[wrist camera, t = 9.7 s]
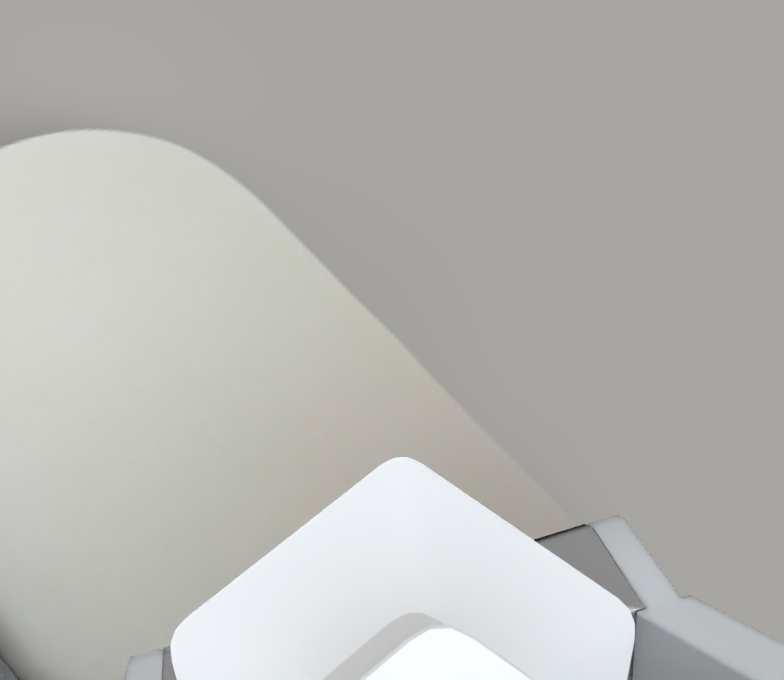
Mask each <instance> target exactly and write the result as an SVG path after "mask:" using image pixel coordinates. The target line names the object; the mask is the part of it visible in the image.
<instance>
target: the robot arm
mask: <svg viewBox="0 0 784 680" xmlns="http://www.w3.org/2000/svg"><path fill="white" fill-rule="evenodd" d="M534 541H536V542H537V543H538V544H540V545H541V546H543V547H544V548H546V549H547V550H549V551H550V552H552V553H553V554H555V555H556V556H557V557H559V558H560V559H562V560H563V561H565V562H566V563H568V564H569V565H571V566H572V567H574V568H575V569H576V570H578V571H579V572H581V573H582V574H584V575H585V576H587V577H588V578H590V579H591V580H592V581H594V582H595V583H597V584H598V585H600V586H601V587H603V588H604V589H606V590H607V591H609V592H610V593H611V594H613V595H614V596H616V597H617V598H618V599H619V600H620V601H622V602H623V603H624V604H625V605H626V606H627V607H628V608H629V610H630V612H631V614H632V617H633V619H634V622H635V640H634V646H633V651H632V657H631V662H630V667H629V673H628V678H627V680H784V644H783V643H781V642H779V641H777V640H775V639H773V638H771V637H769V636H767V635H766V634H764V633H762V632H760V631H758V630H756V629H754V628H752V627H750V626H748V625H746V624H744V623H743V622H741V621H739V620H737V619H735V618H733V617H731V616H729V615H727V614H725V613H723V612H721V611H719V610H717V609H716V608H714V607H712V606H710V605H708V604H706V603H704V602H702V601H700V600H698V599H696V598H694V597H692V596H687V597H683V598H681V597H680V596H679V594H678V593H677V592H676V590H675V589H674V587H673V586H672V585H671V583H670V582H669V581H668V579H667V578H666V576H665V575H664V573H663V572H662V571H661V569H660V568H659V567H658V565H657V564H656V562H655V561H654V560H653V558H652V557H651V555H650V554H649V553H648V552H647V550H646V548H645V547H644V546H643V544H642V543H641V542H640V541H639V539H638V537H637V536H636V535H635V533H634V532H633V530H632V529H631V528H630V526H629V525H628V523H627V522H626V521H625V519H623V518H622V517H620V516H618V515H617V516H613V517H610V518H607V519H603V520H600V521H597V522H593V523H590V524H587V525H585V524H584V525H580V526H577V527H574V528H571V529H567V530H564V531H561V532H558V533H554V534H551V535H548V536H545V537H541V538H538V539H535V540H534ZM125 680H177V679H176V675H175V671H174V668H173V664H172V658H171V647H170V646H168V647H164V648H161V649H157V650H154V651H150V652H147V653H143V654H140V655H136V656H132V657H130V660H129V663H128V665H127V668H126V672H125Z"/></svg>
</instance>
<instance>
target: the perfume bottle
mask: <svg viewBox="0 0 784 680" xmlns="http://www.w3.org/2000/svg"><path fill="white" fill-rule="evenodd" d="M634 640H635V622H634V619H633V617H632V614H631V612H630V610H629V608H628V607H627V606H626V605H625V604H624V603H623V602H622V601H620V600H619V599H618V598H617V597H616V596H614V595H613V594H611V593H610V592H609V591H607V590H606V589H604V588H603V587H601V586H600V585H598V584H597V583H595V582H594V581H592V580H591V579H590V578H588V577H587V576H585V575H584V574H582V573H581V572H579V571H578V570H576V569H575V568H574V567H572V566H571V565H569V564H568V563H566V562H565V561H563V560H562V559H560V558H559V557H557V556H556V555H555V554H553V553H552V552H550V551H549V550H547V549H546V548H544V547H543V546H541V545H540V544H538V543H537V542H536V541H534V540H533V539H531V538H530V537H528V536H527V535H525V534H524V533H522V532H521V531H520V530H518V529H517V528H515V527H514V526H512V525H511V524H509V523H508V522H506V521H505V520H503V519H502V518H501V517H499V516H498V515H496V514H495V513H493V512H492V511H490V510H489V509H487V508H486V507H485V506H483V505H482V504H480V503H479V502H477V501H476V500H474V499H473V498H471V497H470V496H468V495H467V494H466V493H464V492H463V491H461V490H460V489H458V488H457V487H455V486H454V485H452V484H451V483H449V482H448V481H447V480H445V479H444V478H442V477H441V476H439V475H438V474H436V473H435V472H433V471H432V470H431V469H429V468H428V467H426V466H425V465H423V464H422V463H420V462H417V461H415V460H413V459H411V458H409V457H396V458H392V459H391V460H389V461H387V462H385V463H383V464H381V465H380V466H379V467H377V468H376V469H375V470H373V471H372V472H371V473H370V474H368V475H367V476H366V477H365V478H363V479H362V480H361V481H359V482H358V483H357V484H356V485H354V486H353V487H352V488H351V489H349V490H348V491H347V492H345V493H344V494H343V495H342V496H340V497H339V498H338V499H337V500H335V501H334V502H333V503H331V504H330V505H329V506H328V507H326V508H325V509H324V510H323V511H321V512H320V513H319V514H317V515H316V516H315V517H314V518H312V519H311V520H310V521H309V522H307V523H306V524H305V525H303V526H302V527H301V528H300V529H298V530H297V531H296V532H295V533H293V534H292V535H291V536H289V537H288V538H287V539H286V540H284V541H283V542H282V543H281V544H279V545H278V546H277V547H275V548H274V549H273V550H272V551H270V552H269V553H268V554H267V555H265V556H264V557H263V558H261V559H260V560H259V561H258V562H256V563H255V564H254V565H253V566H251V567H250V568H249V569H247V570H246V571H245V572H244V573H242V574H241V575H240V576H239V577H237V578H236V579H235V580H233V581H232V582H231V583H230V584H228V585H227V586H226V587H225V588H223V589H222V590H221V591H219V592H218V593H217V594H216V595H214V596H213V597H212V598H211V599H209V600H208V601H207V602H205V603H204V604H203V605H202V606H200V607H199V608H198V609H197V610H195V611H194V612H193V613H191V614H190V615H189V616H188V617H187V618H186V619H185V620H184V621H183V622H182V623H181V624H180V625H179V626H178V627H177V629H176V630H175V632H174V635H173V638H172V641H171V644H170V647H171V658H172V664H173V668H174V671H175V675H176V679H177V680H627V678H628V673H629V667H630V662H631V657H632V651H633V646H634Z"/></svg>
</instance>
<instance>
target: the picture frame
mask: <svg viewBox="0 0 784 680" xmlns="http://www.w3.org/2000/svg"><path fill="white" fill-rule="evenodd" d="M0 680H18V678H17V677H16V676H15V675H14V674H13V673H12V671H11V669H10V668H9V667H8V665H7V664H6V663H5V662H4V661H3V660H2V659H1V658H0Z"/></svg>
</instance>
